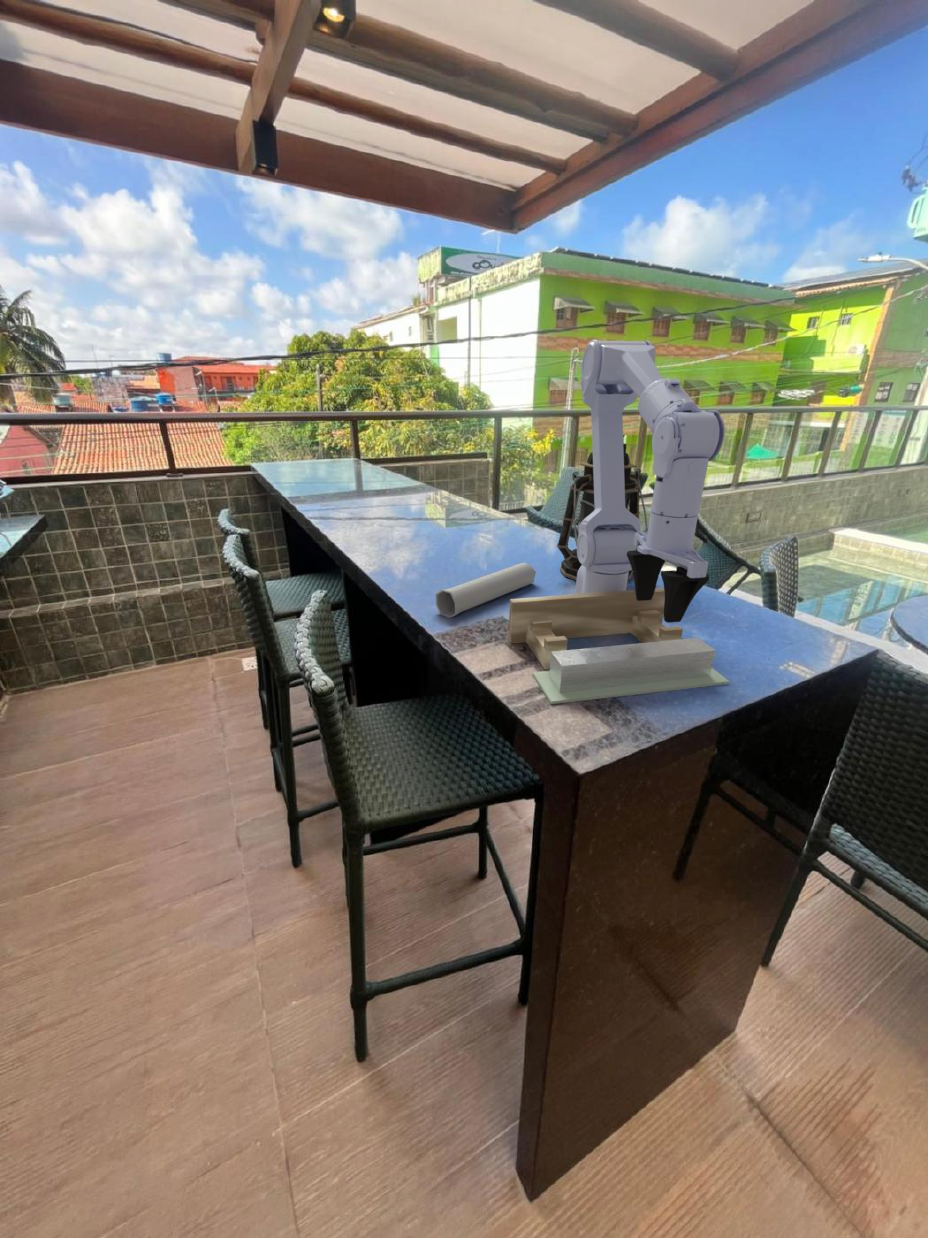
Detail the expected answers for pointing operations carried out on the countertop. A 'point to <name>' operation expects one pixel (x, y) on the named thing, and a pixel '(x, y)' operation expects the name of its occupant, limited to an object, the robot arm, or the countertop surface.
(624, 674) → the rail
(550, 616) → the rail stand
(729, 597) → the countertop surface
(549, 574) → the countertop surface
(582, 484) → the lantern
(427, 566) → the countertop surface
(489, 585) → the tube
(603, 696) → the mat
